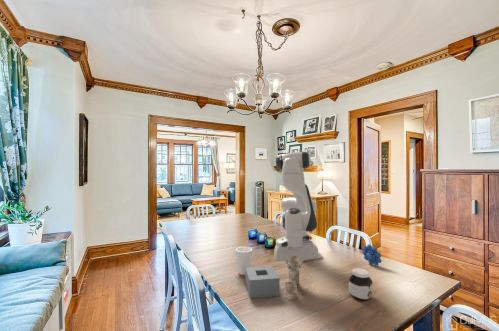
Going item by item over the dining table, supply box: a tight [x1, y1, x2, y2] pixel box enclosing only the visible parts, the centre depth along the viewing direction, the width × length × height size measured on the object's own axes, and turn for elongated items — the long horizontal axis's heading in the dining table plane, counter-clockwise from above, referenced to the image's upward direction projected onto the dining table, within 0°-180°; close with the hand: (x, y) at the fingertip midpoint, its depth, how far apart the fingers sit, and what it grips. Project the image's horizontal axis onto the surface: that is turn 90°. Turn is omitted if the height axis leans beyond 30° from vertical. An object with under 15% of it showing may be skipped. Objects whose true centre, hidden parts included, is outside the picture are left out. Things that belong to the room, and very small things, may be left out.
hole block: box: [244, 265, 281, 299], centre depth 115 cm, size 14×14×8 cm
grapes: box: [361, 243, 382, 267], centre depth 145 cm, size 12×7×12 cm, turn 38°
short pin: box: [285, 281, 298, 301], centre depth 108 cm, size 4×4×6 cm
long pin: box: [288, 256, 300, 285], centre depth 120 cm, size 4×4×14 cm
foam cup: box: [235, 246, 253, 276], centre depth 134 cm, size 10×9×13 cm
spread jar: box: [348, 267, 374, 302], centre depth 111 cm, size 12×11×12 cm
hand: (294, 268), depth 120 cm, fingers closed on long pin, 4 cm apart
